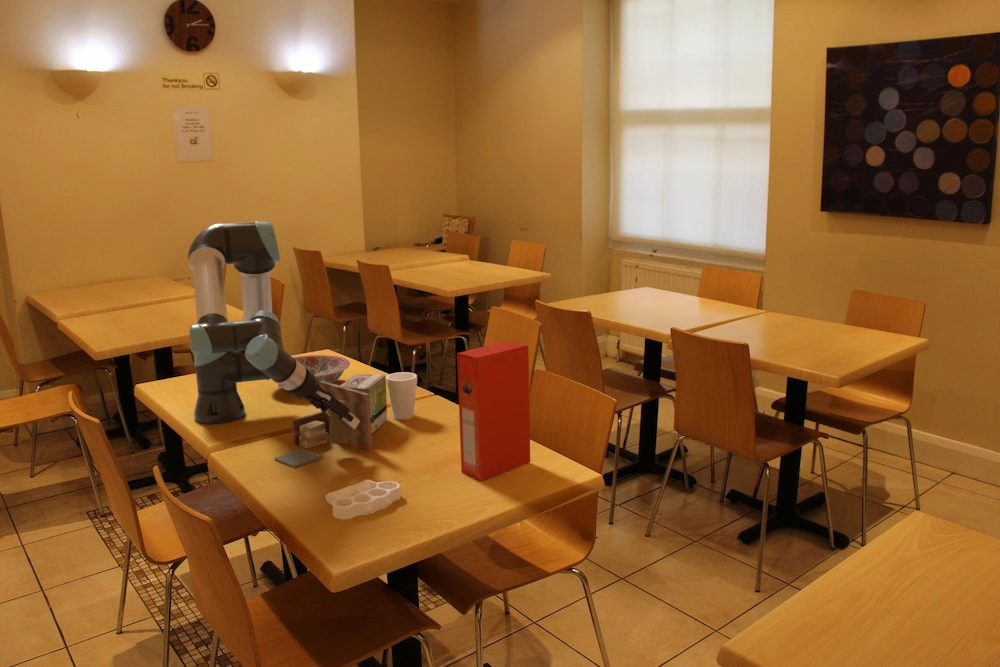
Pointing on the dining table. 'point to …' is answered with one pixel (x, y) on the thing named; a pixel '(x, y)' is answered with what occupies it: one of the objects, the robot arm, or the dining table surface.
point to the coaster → (298, 458)
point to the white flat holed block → (363, 498)
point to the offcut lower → (313, 440)
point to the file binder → (494, 409)
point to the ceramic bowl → (324, 366)
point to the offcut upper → (312, 429)
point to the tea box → (372, 395)
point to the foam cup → (402, 394)
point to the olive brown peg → (338, 428)
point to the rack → (357, 406)
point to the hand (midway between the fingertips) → (349, 422)
